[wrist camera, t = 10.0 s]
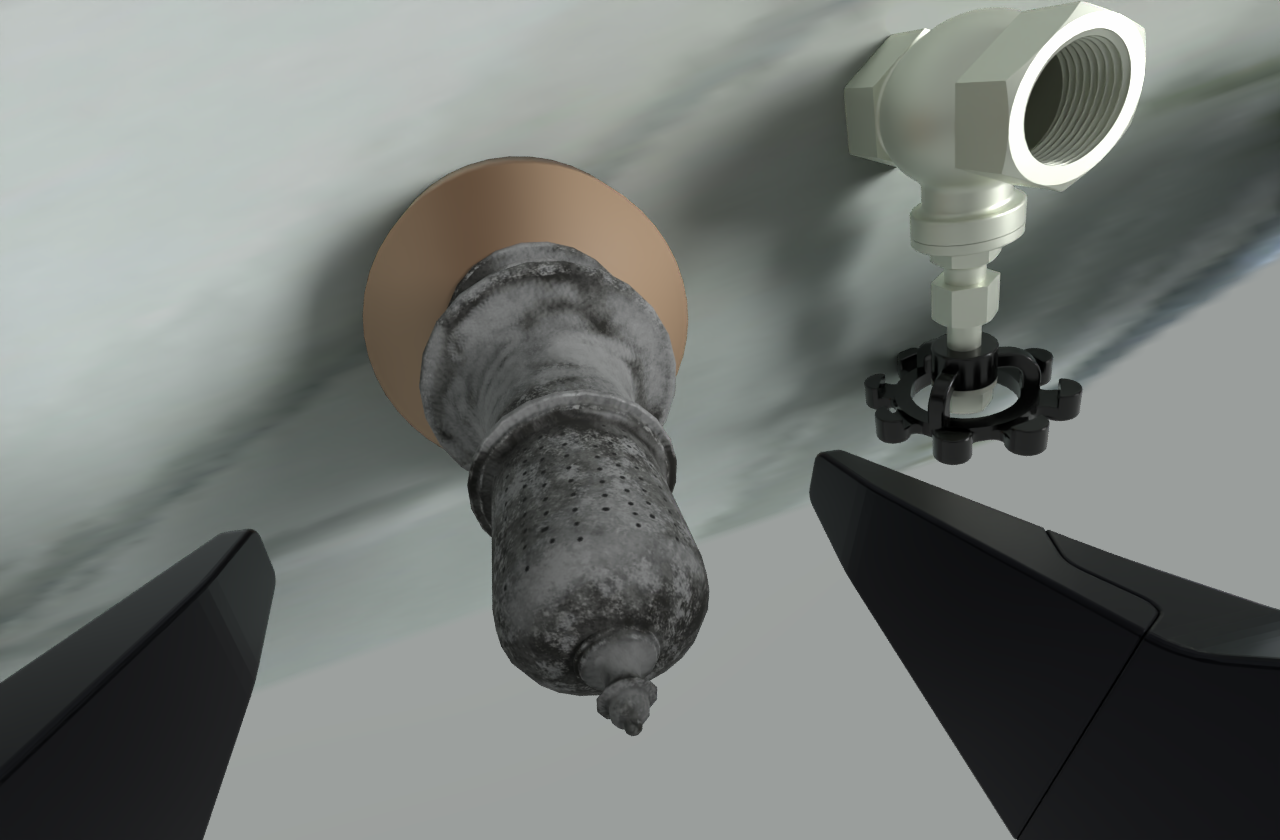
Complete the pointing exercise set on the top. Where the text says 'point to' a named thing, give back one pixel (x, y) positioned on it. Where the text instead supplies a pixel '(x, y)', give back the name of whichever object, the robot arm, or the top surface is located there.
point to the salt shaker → (570, 471)
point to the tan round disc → (489, 221)
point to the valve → (987, 192)
